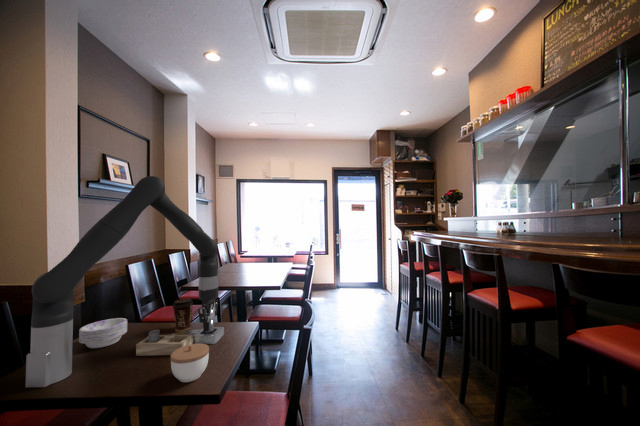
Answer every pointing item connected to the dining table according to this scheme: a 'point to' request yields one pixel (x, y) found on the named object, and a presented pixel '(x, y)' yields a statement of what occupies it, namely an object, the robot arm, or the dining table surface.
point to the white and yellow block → (187, 332)
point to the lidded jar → (189, 362)
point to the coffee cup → (183, 314)
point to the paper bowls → (103, 332)
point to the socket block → (208, 336)
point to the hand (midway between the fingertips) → (208, 328)
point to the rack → (162, 343)
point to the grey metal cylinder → (210, 323)
